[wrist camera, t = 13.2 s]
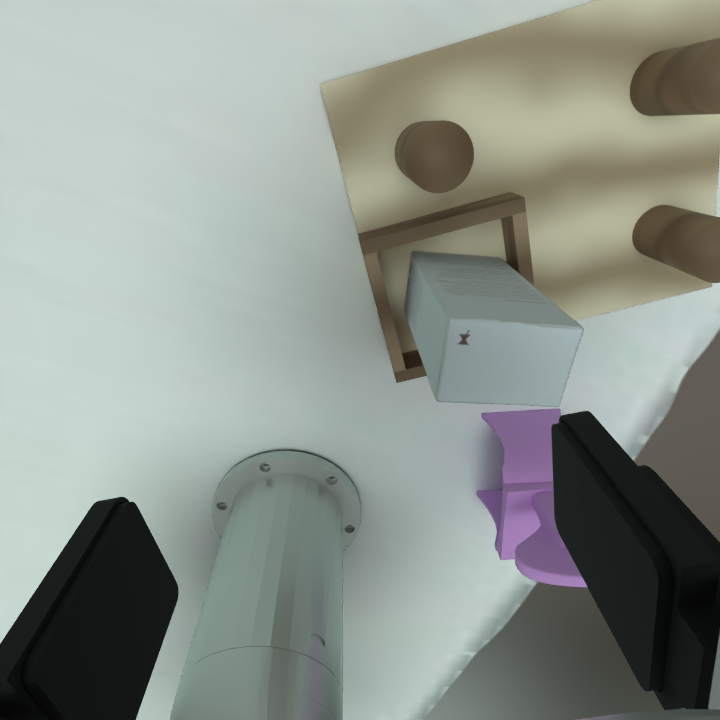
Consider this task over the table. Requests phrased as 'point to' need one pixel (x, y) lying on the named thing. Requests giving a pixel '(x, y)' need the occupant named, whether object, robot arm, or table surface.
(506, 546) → the toy chair
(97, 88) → the table surface
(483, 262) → the skincare box
